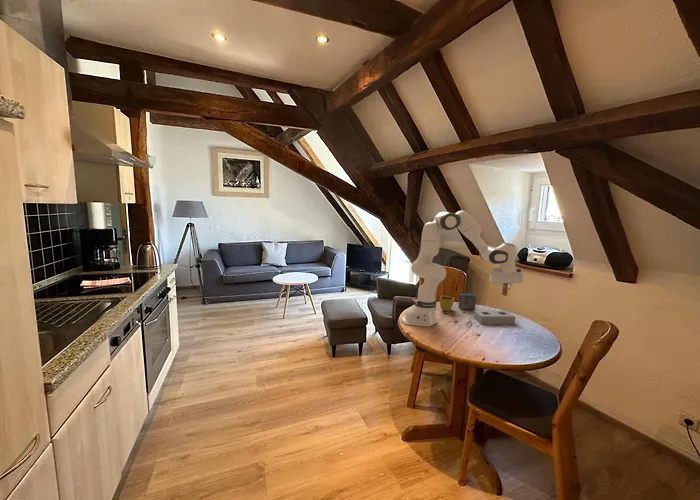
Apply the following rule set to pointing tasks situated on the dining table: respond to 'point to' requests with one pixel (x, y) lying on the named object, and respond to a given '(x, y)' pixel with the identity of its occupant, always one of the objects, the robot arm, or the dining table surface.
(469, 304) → the small box
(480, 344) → the dining table surface
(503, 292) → the peg
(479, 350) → the dining table surface
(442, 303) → the flower pot
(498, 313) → the hole block
